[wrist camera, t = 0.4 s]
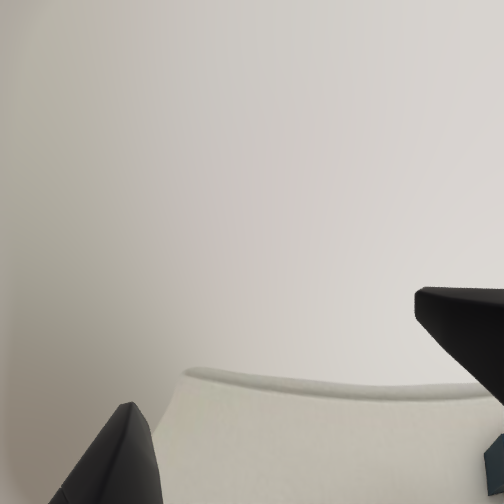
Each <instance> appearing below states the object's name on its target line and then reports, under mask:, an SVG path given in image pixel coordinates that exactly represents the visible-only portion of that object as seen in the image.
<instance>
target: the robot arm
mask: <svg viewBox="0 0 504 504" xmlns="http://www.w3.org/2000/svg"><path fill="white" fill-rule="evenodd" d="M415 317H416V319H417V321H418V322H419V323H420V324H421V325H422V326H423V327H424V328H425V329H426V330H427V331H428V333H429V334H430V335H431V336H432V337H433V338H434V339H435V340H436V341H437V342H438V343H439V345H440V346H441V347H442V348H443V349H444V350H445V351H446V352H447V353H448V354H449V355H451V356H452V357H453V358H454V359H455V360H456V361H457V362H458V363H459V364H460V365H462V366H463V367H464V368H465V369H466V370H467V371H468V372H469V373H470V374H471V375H472V376H474V377H475V379H477V380H478V381H479V382H480V383H481V384H482V385H483V386H484V387H485V388H486V389H487V390H488V391H489V392H490V393H491V394H492V395H493V396H494V397H495V398H496V399H497V400H498V401H499V402H501V403H502V404H503V405H504V289H481V288H448V287H447V288H446V287H423V288H422V289H420V290H418V291H417V292H416V293H415ZM48 504H163V498H162V491H161V482H160V475H159V469H158V465H157V460H156V456H155V452H154V447H153V442H152V437H151V432H150V428H149V425H148V423H147V421H146V419H145V418H144V416H143V415H142V413H141V411H140V410H139V408H138V407H137V405H136V404H135V403H134V402H128V403H125V404H121V405H119V407H118V408H117V410H116V411H115V412H114V413H113V415H112V416H111V417H110V419H109V420H108V422H107V423H106V424H105V426H104V427H103V428H102V430H101V431H100V433H99V434H98V435H97V437H96V438H95V440H94V441H93V442H92V444H91V445H90V446H89V448H88V449H87V451H86V452H85V454H84V455H83V456H82V457H81V459H80V460H79V462H78V463H77V464H76V466H75V467H74V469H73V470H72V472H71V473H70V474H69V476H68V477H67V478H66V480H65V481H64V483H63V484H62V485H61V488H59V490H58V491H57V492H56V494H55V495H54V497H53V498H52V499H51V501H50V502H49V503H48Z"/></svg>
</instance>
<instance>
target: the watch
mask: <svg viewBox="0 0 504 504" xmlns="http://www.w3.org/2000/svg"><path fill="white" fill-rule="evenodd" d="M484 458H485V466H486V475H487V486H488V496H490V495H494V494H498V493H502V492H504V434H501V435H500V436H499V437H498V438H497V439H496V441H495V442H494V443H493V444H492V445H491V446H490V447H489V448H488V450H487V451H486V452H485V453H484Z"/></svg>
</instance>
